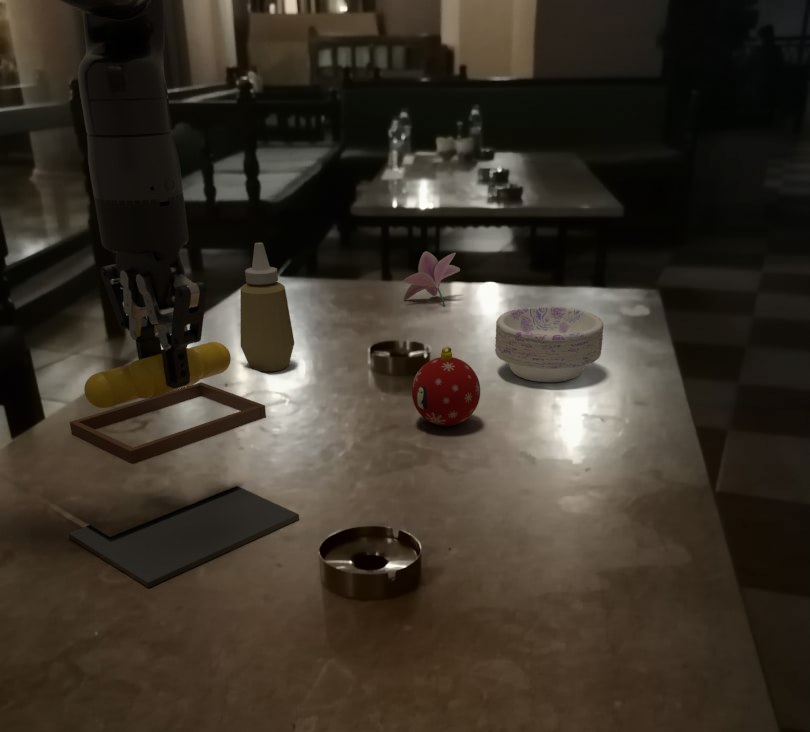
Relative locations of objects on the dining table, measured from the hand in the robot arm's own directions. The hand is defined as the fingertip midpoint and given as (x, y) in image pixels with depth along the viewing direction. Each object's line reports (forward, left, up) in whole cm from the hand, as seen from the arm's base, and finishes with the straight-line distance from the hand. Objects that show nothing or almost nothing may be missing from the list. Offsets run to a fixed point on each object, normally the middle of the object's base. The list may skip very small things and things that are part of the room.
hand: (165, 380), depth 87 cm
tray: (+12, +21, -15) cm, 28 cm away
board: (-2, -2, -15) cm, 15 cm away
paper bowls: (+62, -1, -15) cm, 64 cm away
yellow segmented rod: (0, 0, -1) cm, 1 cm away
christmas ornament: (+37, -3, -15) cm, 41 cm away
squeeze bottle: (+37, +32, -15) cm, 51 cm away
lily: (+82, +39, -15) cm, 92 cm away
